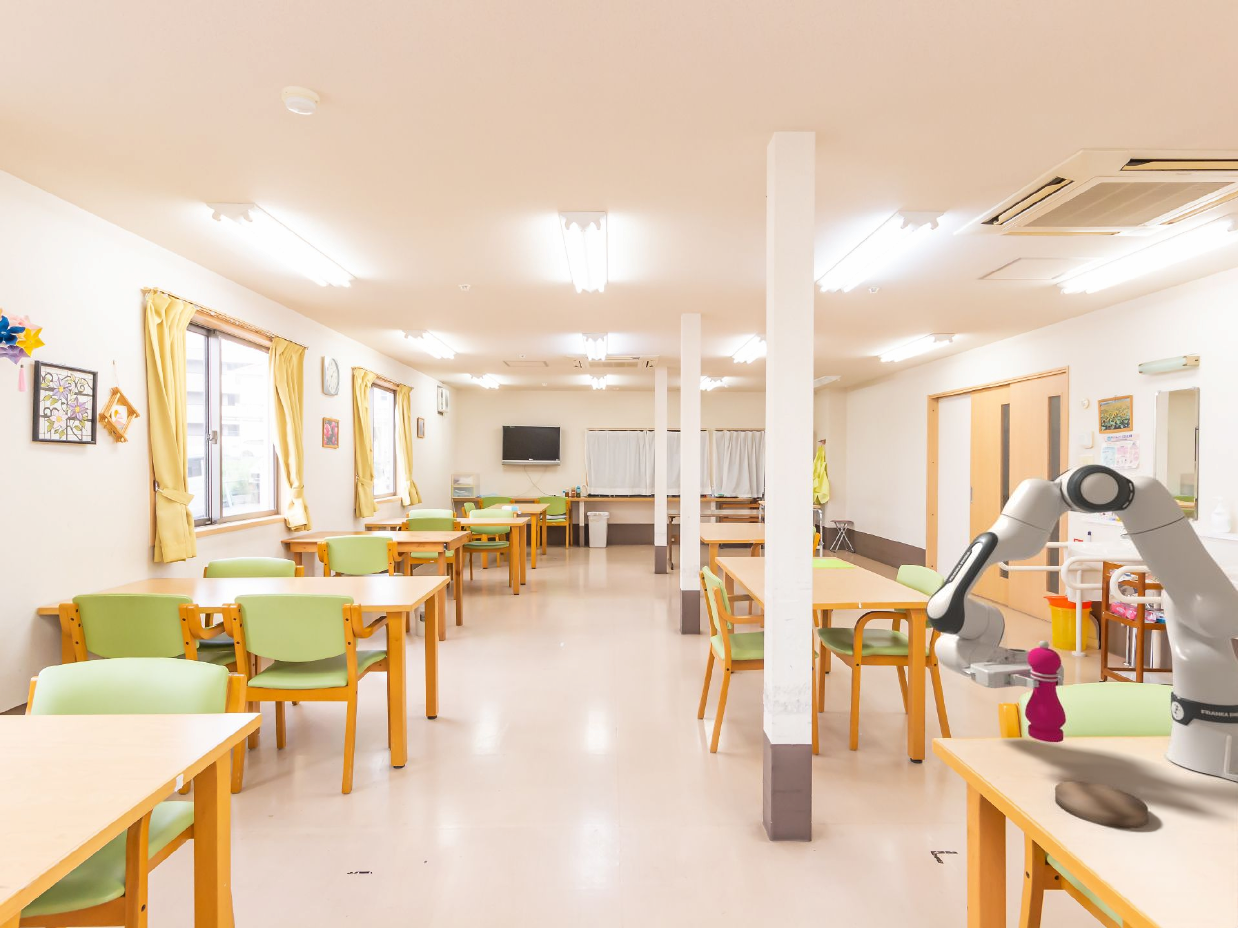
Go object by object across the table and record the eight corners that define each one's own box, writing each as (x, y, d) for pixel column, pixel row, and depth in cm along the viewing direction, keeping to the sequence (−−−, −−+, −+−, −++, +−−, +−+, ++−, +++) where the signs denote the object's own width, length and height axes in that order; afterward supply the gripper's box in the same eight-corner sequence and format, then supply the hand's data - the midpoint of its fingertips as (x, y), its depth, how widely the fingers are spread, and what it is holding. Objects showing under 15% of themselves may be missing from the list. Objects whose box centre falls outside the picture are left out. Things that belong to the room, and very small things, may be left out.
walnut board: (1117, 793, 132) (1117, 783, 132) (1167, 829, 118) (1167, 818, 118) (1040, 789, 133) (1040, 779, 133) (1081, 825, 119) (1081, 813, 119)
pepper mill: (1031, 727, 147) (1029, 634, 147) (1070, 736, 141) (1068, 640, 142) (1020, 736, 142) (1019, 640, 142) (1061, 746, 136) (1059, 646, 137)
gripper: (956, 655, 152) (1007, 671, 138) (1030, 649, 157) (1085, 664, 144) (957, 683, 151) (1008, 702, 138) (1031, 676, 157) (1086, 694, 143)
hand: (1048, 683), depth 141 cm, fingers closed on pepper mill, 5 cm apart
